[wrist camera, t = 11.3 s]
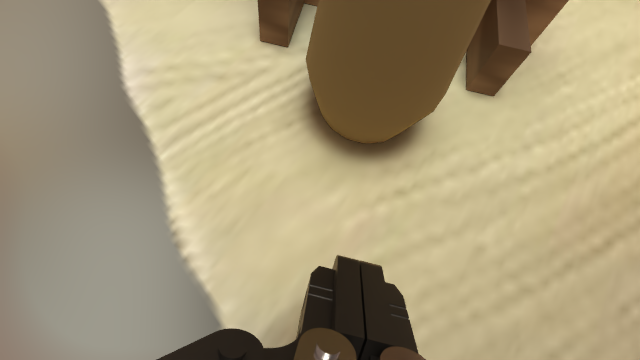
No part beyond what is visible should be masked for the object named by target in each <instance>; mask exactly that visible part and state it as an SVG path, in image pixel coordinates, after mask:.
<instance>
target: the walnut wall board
mask: <svg viewBox="0 0 640 360" xmlns="http://www.w3.org/2000/svg"><path fill="white" fill-rule="evenodd" d="M568 1H569V0H491V1H490V3H489V5H488V7H487V9H486V11H485V13H484V15H483V18H482V20H481V22H480V24H479V26H478V28H477V30H476V32H475V34H474V36H473V38H472V40H471V42H470V44H469V46H468V48H467V71H466V90H470V91H474V92H479V93H483V94H487V95H491V96H494V95H495V94H496V93H497V92H498V91H499V89H500V88H501V87H502V86H503V85H504V84H505V82H506V81H507V80H508V79H509V78H510V76H511V75H512V74H513V73H514V72H515V71H516V69H517V68H518V67H519V66H520V65H521V63H522V62H523V61H524V60H525V59H526V58H527V56H528V55H529V54H530V53H531V45H532V44H533V43H534V41H535V40H536V39H537V38H538V37H539V35H540V34H541V33H542V32H543V31H544V29H545V28H546V27H547V26H548V25H549V23H550V22H551V21H552V20H553V19H554V17H555V16H556V15H557V14H558V13H559V11H560V10H561V9H562V8H563V7H564V5H565V4H566V3H567V2H568ZM318 2H319V0H258V11H259V27H260V41H264V42H268V43H273V44H277V45H281V46H285V47H288V45H289V43H290V40H291V37H292V34H293V32H294V29H295V26H296V23H297V21H298V18H299V15H300V12H301V9H302V7H303V4H304V3H306V4H310V5H315V6H318Z"/></svg>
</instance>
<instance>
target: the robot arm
mask: <svg viewBox="0 0 640 360" xmlns="http://www.w3.org/2000/svg"><path fill="white" fill-rule="evenodd" d="M408 318H409V316H408V313H407V310H406V305H405V301H404V298H403V295H402V294H401V293H400V291H399V290H398V289H397V288H396V286H395V285H394V284H390V283H386V282H385V281H384V276H383V270H382V267H381V266H380V265H376V264H372V263H368V262H364V261H359V260H355V259H351V258H347V257H343V256H339V255H337V256H336V259H335V262H334V266H333V269H329V268H325V267H321V266H319V267H317V268H316V269H315V270H314V271H313V272H312V273H311V277H310V280H309V284H308V288H307V292H306V295H305V299H304V303H303V307H302V310H301V315H300V321H299V326H298V332H297V337H296V340H295V341H294V342H292V343H290V344H289V345H286V346H283V347H279V348H263V346H262V344H261V342H260V341H259V340H258V339H257V338H256V337H255V336H254V335H252V334H251V333H249V332H247V331H244V330H240V329H223V330H219V331H217V332H214V333H212V334H210V335H208V336H206V337H204V338H201V339H199V340H197V341H195V342H193V343H191V344H189V345H187V346H185V347H183V348H180V349H178V350H176V351H174V352H172V353H170V354H168V355H165V356H164V357H161V358H160V359H157V360H426V359H424V358H423V357H422V356H421V355H419V354H418V350H417V347H416V343H415V339H414V335H413V332H412V328H411V324H410V320H408Z"/></svg>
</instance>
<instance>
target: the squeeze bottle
mask: <svg viewBox="0 0 640 360" xmlns="http://www.w3.org/2000/svg"><path fill="white" fill-rule="evenodd" d="M490 1H491V0H319V2H318V6H317V11H316V15H315V20H314V24H313V29H312V33H311V38H310V42H309V47H308V51H307V56H306V63H307V68H308V73H309V78H310V82H311V85H312V88H313V91H314V94H315V96H316V99H317V102H318V105H319V108H320V111H321V114H322V116H323V118H324V119H325V120H326V122H327V123H328V124H329V126H330V127H331V128H332V129H333V130H334V131H336V132H337V133H339V134H340V135H342V136H343V137H345V138H347V139H349V140H353V141H357V142H361V143H365V144H366V143H378V142H384V141H386V140H388V139H390V138H392V137H394V136H396V135H398V134H399V133H401V132H402V131H404V130H406V129H407V128H409V127H410V126H412V125H413V124H415V123H416V122H418V121H419V120H421V119H423V118H424V117H426V116H427V115H429V114H430V113H432V112H433V111H434V110H435V108H436V107H437V105H438V104H439V102H440V101H441V100H442V98H443V97H444V95H445V94H446V92H447V90H448V88H449V86H450V84H451V81H452V79H453V77H454V75H455V73H456V71H457V69H458V67H459V65H460V63H461V61H462V59H463V57H464V55H465V53H466V51H467V48H468V46H469V44H470V42H471V40H472V38H473V36H474V34H475V32H476V30H477V28H478V26H479V24H480V22H481V20H482V18H483V15H484V13H485V11H486V9H487V7H488V5H489V3H490Z"/></svg>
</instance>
